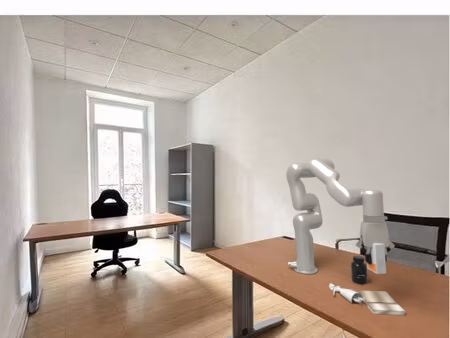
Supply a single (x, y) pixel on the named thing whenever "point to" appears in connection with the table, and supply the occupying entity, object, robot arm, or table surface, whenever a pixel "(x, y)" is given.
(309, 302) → the table surface
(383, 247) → the skincare box
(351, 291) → the woman figurine
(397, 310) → the laid board
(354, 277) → the supplement bottle
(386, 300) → the beige flat panel
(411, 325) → the table surface
